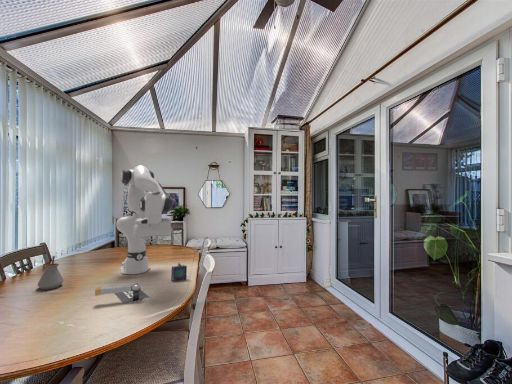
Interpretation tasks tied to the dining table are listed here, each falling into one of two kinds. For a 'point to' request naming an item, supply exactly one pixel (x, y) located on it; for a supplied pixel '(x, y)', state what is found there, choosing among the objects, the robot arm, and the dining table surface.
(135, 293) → the dark grey cylinder
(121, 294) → the chassis plate
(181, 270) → the flask
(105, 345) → the dining table surface
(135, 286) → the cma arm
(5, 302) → the dining table surface
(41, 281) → the grey vase with sticks
